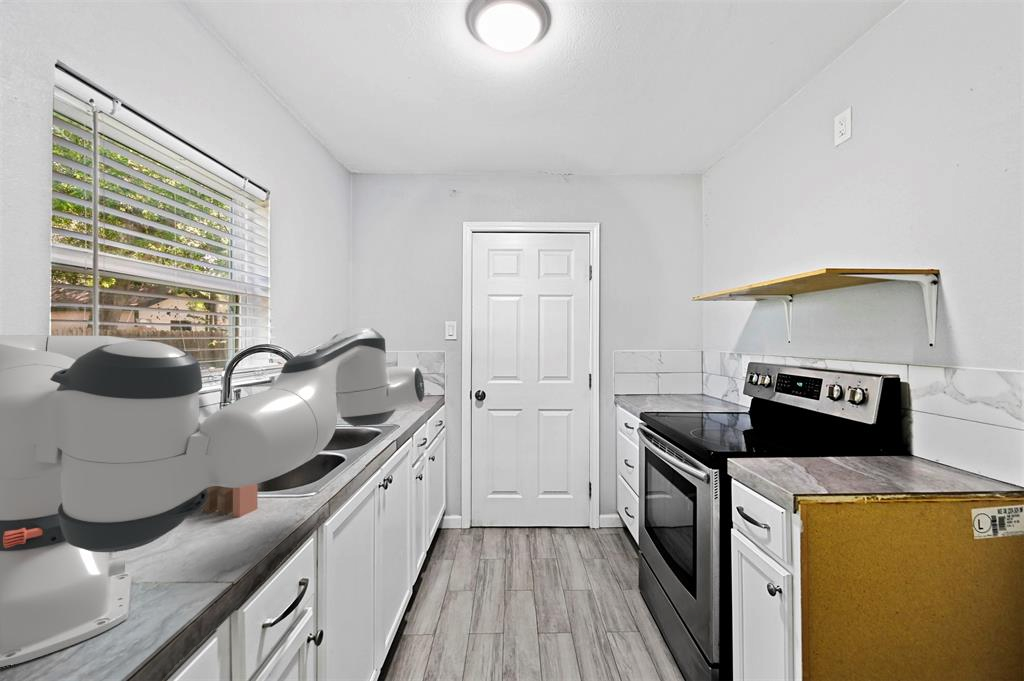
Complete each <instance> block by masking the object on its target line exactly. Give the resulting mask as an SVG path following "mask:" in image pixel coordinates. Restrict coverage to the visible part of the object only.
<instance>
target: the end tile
mask: <svg viewBox="0 0 1024 681" xmlns="http://www.w3.org/2000/svg"><path fill="white" fill-rule="evenodd" d="M257 509H258V483H257V484H253V485H249V486H244V487H239V488H233V512H232V517H234V518H235V517H236V518H238V517H239V518H241V517H243V516H245V515H247V514H249V513H252V512H254V511H255V510H257Z"/></svg>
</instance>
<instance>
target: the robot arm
mask: <svg viewBox="0 0 1024 681" xmlns="http://www.w3.org/2000/svg"><path fill="white" fill-rule="evenodd" d="M386 348H387V347H386V339H385V338H384V337H383V335H382V334H380V333H379V332H378V331H376V330H375V329H373V328H370V327H362V326H361V327H353V328H349V329H345V330H343V331H342V332H341V331H340V332H339V333H337V334H335V335H334V336H332V338H330V339H328V340H326V341H324V342H322V343H318V344H317V345H315V346H313V347H311V348H309V349H307V350H305V351H302V352H301V353H299V354H297V355H295V356H293V357H292V358H290V359H289V360H287V361H285V363H284V364H283V366H282V368H281V370H280V373H279V375H278V377H277V378H276V380H275V381H274V382H273V383H272V385H271V386H270V387H269V388H267V389H266V390H262V391H259V392H255V393H253V394H250V395H247V396H245V397H243V398H240V399H237V400H235V401H232V403H229V404H226V405H225V406H224V407H222V408H220V409H218V410H216V411H214V412H213V413H212V414H210V415H209V416H207V417H206V416H204V417H200V392H199V391H201V390H202V388H203V378H202V371H201V366H200V363H199V360H198V359H197V358H196V357H195V356H194V355H192V354H191V353H190V352H188V351H187V350H184V349H180V348H177V347H175V346H172V345H170V344H168V343H163V342H159V341H153V340H141V339H140V340H139V339H132V338H127V337H121V336H120V337H119V336H112V335H64V334H63V335H57V334H56V335H53V334H52V335H29V334H28V335H23V334H21V335H20V334H19V335H18V334H16V335H15V334H12V335H11V334H8V335H7V334H2V335H1V334H0V666H1V667H2V666H6V665H11V666H15V665H17V664H20V663H21V664H22V663H25V662H27V661H31V660H33V659H36V658H39V657H43V656H45V655H48V654H51V653H54V652H57V651H59V650H62V649H65V648H68V647H70V646H72V645H76V644H78V643H80V642H83V641H85V640H88V639H90V638H93V637H95V636H97V635H99V634H101V633H104V632H106V631H108V630H110V629H112V628H113V627H115V626H117V625H119V624H121V623H122V622H124V621H125V620H127V619H128V618H129V615H130V606H131V605H130V604H131V592H132V582H133V576H132V571H131V570H126V557H124V556H122V557H117V558H115V553H118V552H123V551H130V550H133V549H137V548H141V547H143V546H146V545H148V544H150V543H153V542H154V541H157V540H158V539H160V538H161V537H163V536H165V535H166V534H167V533H169V532H171V531H172V530H174V529H176V528H178V526H179V525H181V524H182V523H183V521H185V519H187V517H188V516H191V515H194V514H196V513H198V512H200V511H201V510H200V509H201V508H202V507H203V505H204V504H205V502H206V501H207V498H208V492H207V490H206V488H208V487H211V486H222V487H228V488H239V487H244V486H249V485H253V484H257V485H258V484H259V483H260V484H261V483H263V482H266V481H269V480H272V479H275V478H277V477H279V476H282V475H284V474H286V473H289V472H291V471H292V470H294V469H297V468H298V467H300V466H303V465H304V464H305V463H308V462H309V461H312V459H314V458H315V457H316V456H318V455H319V454H320V453H321V452H322V451H323V450H324V449H325V448H326V447H327V446H328V444H329V443H330V441H331V439H332V438H333V436H334V434H335V432H336V429H337V428H336V427H337V424H338V410H339V415H340V418H341V419H342V420H343V421H344V422H346V423H347V424H348V425H351V426H353V427H362V426H377V425H382V424H384V423H386V422H387V421H388V420H389V419H390V418H391V417H392V416H393V414H394V413H395V412H396V409H401V408H406V407H411V406H415V405H419V404H421V403H422V402H423V399H424V397H425V383H424V382H425V381H424V377H423V374H422V371H421V370H420V368H418V367H416V366H403V365H399V366H388V365H387V364H388V363H387V358H386V357H387V356H386V354H387V351H386ZM200 498H201V499H200ZM14 664H15V665H14Z"/></svg>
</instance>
